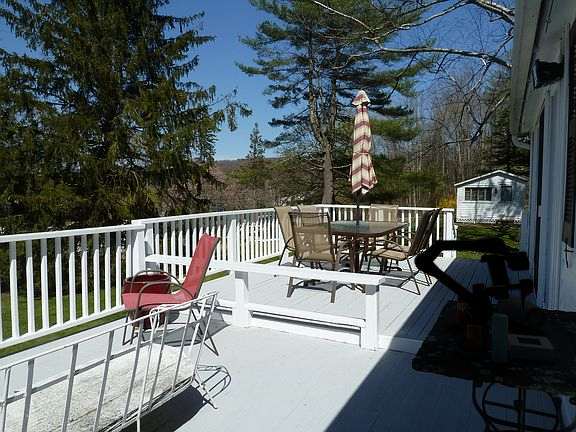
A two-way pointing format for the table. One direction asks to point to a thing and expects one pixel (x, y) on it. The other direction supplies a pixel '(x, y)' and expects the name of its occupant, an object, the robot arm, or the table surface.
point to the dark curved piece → (523, 312)
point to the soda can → (462, 312)
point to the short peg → (474, 338)
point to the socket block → (530, 348)
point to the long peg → (500, 338)
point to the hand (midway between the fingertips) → (507, 311)
